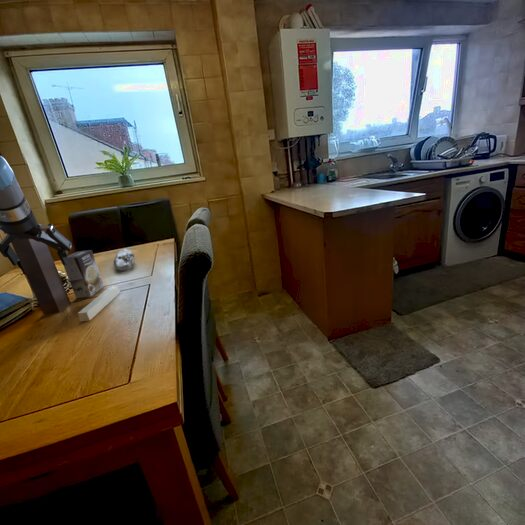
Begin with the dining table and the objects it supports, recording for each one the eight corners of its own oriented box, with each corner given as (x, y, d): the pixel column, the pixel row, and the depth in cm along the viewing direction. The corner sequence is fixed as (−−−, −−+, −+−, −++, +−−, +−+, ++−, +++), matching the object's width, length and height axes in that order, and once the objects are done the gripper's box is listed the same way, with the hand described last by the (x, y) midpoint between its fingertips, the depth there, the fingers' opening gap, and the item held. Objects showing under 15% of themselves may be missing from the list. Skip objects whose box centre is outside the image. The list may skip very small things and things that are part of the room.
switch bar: (80, 321, 88) (77, 313, 87) (113, 292, 107) (110, 285, 106) (89, 320, 88) (86, 312, 87) (120, 292, 107) (118, 285, 106)
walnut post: (41, 314, 96) (3, 230, 86) (55, 305, 102) (21, 225, 92) (60, 312, 96) (24, 228, 85) (72, 303, 102) (40, 223, 92)
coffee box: (91, 297, 106) (76, 257, 100) (75, 298, 106) (59, 259, 100) (105, 286, 114) (92, 249, 109) (90, 287, 115) (76, 251, 109)
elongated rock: (135, 253, 161) (116, 258, 157) (132, 244, 159) (113, 249, 156) (137, 267, 130) (115, 274, 127) (134, 256, 129) (110, 263, 125)
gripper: (-58, 221, 63) (-13, 272, 80) (67, 225, 72) (84, 271, 89) (-46, 198, 67) (-5, 251, 84) (71, 205, 76) (87, 252, 92)
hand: (41, 261), depth 86 cm, fingers open, 12 cm apart
